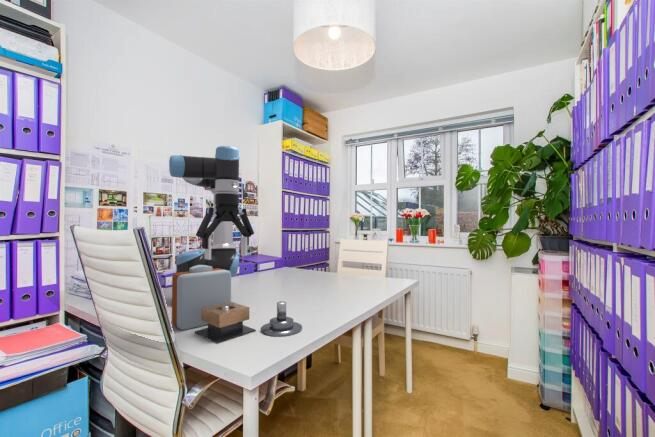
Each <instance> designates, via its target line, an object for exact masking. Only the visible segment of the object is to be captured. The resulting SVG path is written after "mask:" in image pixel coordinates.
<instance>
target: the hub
mask: <svg viewBox="0 0 655 437" xmlns="http://www.w3.org/2000/svg"><path fill="white" fill-rule="evenodd" d="M302 330H303V326H302V324H301V323H299V322H296V321H294V319H293V317H290V316H287V301H282V300H281V301H280V300H279V301H277V302H276V317H272V318H270V319H269V322H268V323H264V324H263V325H262V326H261V327H260V332H261V334H263V335H265V336H269V337H279V338H280V337H290V336H294V335H297V334H298V333H300V332H302Z"/></svg>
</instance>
